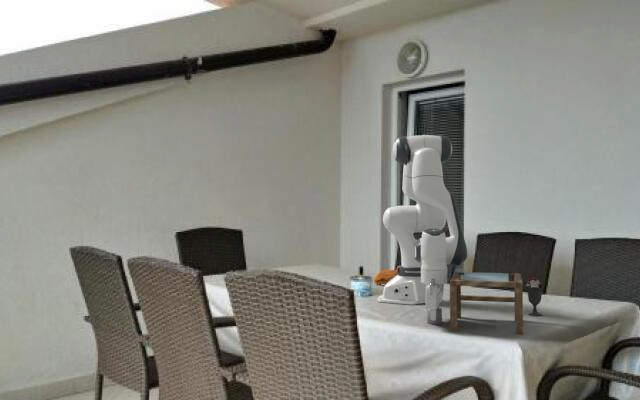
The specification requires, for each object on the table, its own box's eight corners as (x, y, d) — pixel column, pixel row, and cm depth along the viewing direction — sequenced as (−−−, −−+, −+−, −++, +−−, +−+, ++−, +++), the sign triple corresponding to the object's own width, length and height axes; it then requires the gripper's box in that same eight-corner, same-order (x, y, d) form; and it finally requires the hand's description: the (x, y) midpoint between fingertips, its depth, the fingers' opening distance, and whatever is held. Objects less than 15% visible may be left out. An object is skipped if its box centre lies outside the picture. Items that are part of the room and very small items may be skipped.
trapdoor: (463, 287, 191) (463, 279, 191) (466, 277, 208) (466, 270, 208) (508, 289, 187) (508, 281, 187) (508, 278, 204) (508, 271, 203)
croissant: (382, 285, 299) (380, 269, 300) (410, 283, 290) (408, 267, 291) (368, 288, 288) (366, 272, 288) (396, 286, 279) (394, 269, 279)
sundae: (521, 313, 215) (521, 271, 215) (539, 312, 216) (539, 271, 215) (529, 316, 208) (529, 274, 208) (548, 316, 209) (547, 273, 209)
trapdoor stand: (450, 330, 189) (449, 279, 189) (455, 316, 210) (454, 270, 210) (523, 334, 183) (522, 281, 183) (520, 319, 204) (520, 271, 204)
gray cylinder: (426, 324, 199) (426, 309, 199) (428, 321, 204) (427, 306, 204) (441, 324, 197) (441, 309, 197) (442, 321, 202) (442, 307, 202)
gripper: (440, 282, 190) (441, 325, 190) (446, 273, 209) (446, 312, 209) (420, 281, 191) (421, 324, 192) (428, 273, 211) (428, 311, 211)
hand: (434, 318), depth 201 cm, fingers closed on gray cylinder, 5 cm apart
